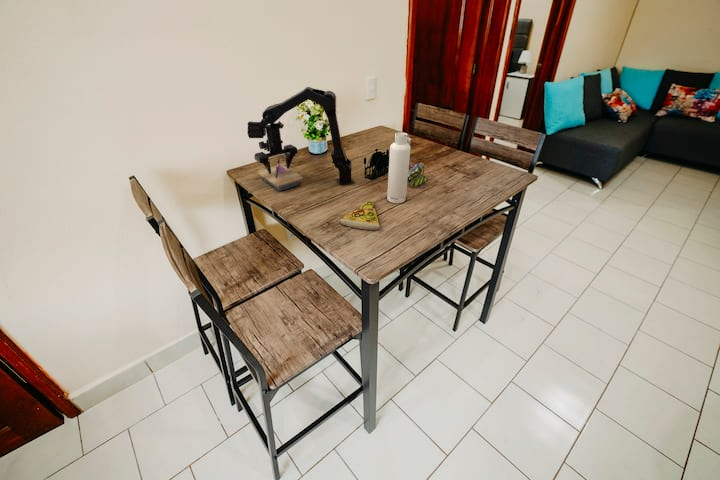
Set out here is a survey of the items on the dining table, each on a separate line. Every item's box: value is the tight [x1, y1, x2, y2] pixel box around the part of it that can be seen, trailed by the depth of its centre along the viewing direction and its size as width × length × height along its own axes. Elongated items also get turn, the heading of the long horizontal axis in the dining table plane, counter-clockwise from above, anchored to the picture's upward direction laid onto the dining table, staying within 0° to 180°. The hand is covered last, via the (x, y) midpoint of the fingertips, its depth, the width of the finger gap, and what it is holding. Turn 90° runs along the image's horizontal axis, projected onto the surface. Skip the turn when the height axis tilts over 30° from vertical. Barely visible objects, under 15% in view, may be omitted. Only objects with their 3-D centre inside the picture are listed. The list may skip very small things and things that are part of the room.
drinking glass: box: [407, 136, 412, 146], centre depth 180 cm, size 7×7×10 cm
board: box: [256, 163, 304, 188], centre depth 156 cm, size 20×13×1 cm, turn 40°
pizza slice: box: [340, 200, 381, 231], centre depth 133 cm, size 16×21×3 cm
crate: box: [262, 177, 300, 192], centre depth 157 cm, size 16×10×3 cm, turn 40°
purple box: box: [276, 156, 286, 178], centre depth 154 cm, size 7×5×9 cm
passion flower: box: [407, 162, 429, 188], centre depth 156 cm, size 11×11×12 cm
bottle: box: [386, 131, 412, 204], centre depth 137 cm, size 8×8×28 cm
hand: (279, 171), depth 155 cm, fingers open, 9 cm apart
